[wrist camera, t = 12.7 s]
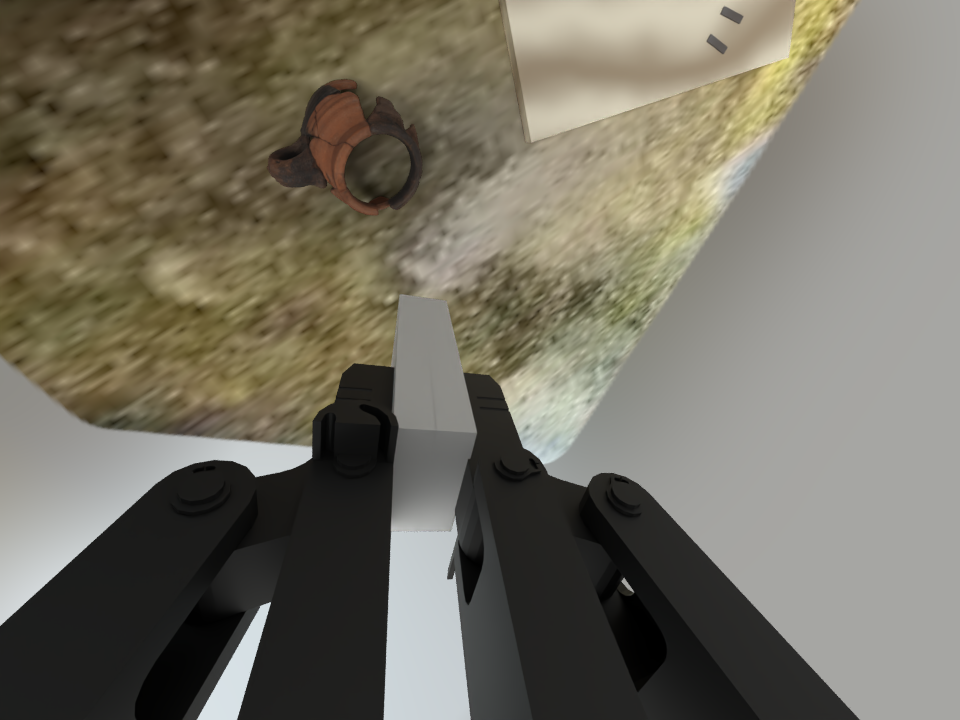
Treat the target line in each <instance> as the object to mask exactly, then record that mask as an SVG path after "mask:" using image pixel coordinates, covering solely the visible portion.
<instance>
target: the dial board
mask: <svg viewBox="0 0 960 720" xmlns="http://www.w3.org/2000/svg"><path fill="white" fill-rule="evenodd" d="M795 2H796V0H499V4H500V9H501V14H502V20H503V25H504V30H505V36H506V41H507V46H508V52H509V57H510V62H511V68H512V73H513V78H514V84H515V89H516V94H517V99H518V105H519V110H520V115H521V121H522V126H523V131H524V137H525V142H528V143H532V142H535V141H538V140H541V139H544V138H547V137H550V136H553V135H556V134H559V133H562V132H565V131H568V130H571V129H574V128H577V127H580V126H583V125H586V124H589V123H592V122H595V121H598V120H601V119H604V118H607V117H610V116H614V115H617V114H620V113H623V112H626V111H629V110H632V109H635V108H638V107H641V106H644V105H647V104H650V103H653V102H656V101H659V100H662V99H665V98H668V97H671V96H674V95H677V94H680V93H683V92H686V91H689V90H692V89H695V88H698V87H701V86H704V85H707V84H710V83H713V82H716V81H719V80H722V79H725V78H728V77H731V76H734V75H737V74H740V73H743V72H746V71H749V70H752V69H755V68H758V67H761V66H764V65H767V64H770V63H773V62H776V61H779V60H782V59H785V58H788V57H789V52H790V44H791V35H792V27H793V19H794V11H795Z"/></svg>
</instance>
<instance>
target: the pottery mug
mask: <svg viewBox="0 0 960 720" xmlns="http://www.w3.org/2000/svg"><path fill="white" fill-rule="evenodd" d="M356 88H357V84H356V82H355V81H353V80H347V79H341V80H335V81H331V82H329V83H327V84H325V85H323V86H321V87H320V88H319V89H318V90H317V91H316V92H315V93H314V94H313V95H312V97H311V99H310V100H309V102H308V105H307V108H306V111H305V117H304V120H303V124H302V128H301V137H300V138H299V139H298V140H297V141H296V142H295V143H294V144H292V145H291V146H288V147H285V148H282V149H279V150H277V151H275V152H273V153H272V154H271V155H270V156H269V158H268V166H267V168H268V171H269V173H270V174H271V176H272V177H274V178H275V179H276V181H278V182H279V183H280V184H282V185H283V186H286V187H304V186H307V185H315V186H318V187H320V188H325V187H326V186H327V181H328V183H329V184H331V185H332V186H333V188H332V189H331V192H332V193H333V194H334V195H335V196H336V197H337V198H339V199H340V200H342V201H343V202H344V203H346V204H348V205H349V206H350V207H351V208H353V209H354V210H356V211H358V212H360V213H363V214H366V215H378V210H382V209H385V208H387V207H389V206H390V207H391V208H392V209H395V210H398V209H400V208H401V207H402V206H404V205H405V204H406V203H407V202H408V201H409V200H410V199H411V198H412V196H413V195H414V193H415V192H416V190H417V187H418V185H419V180H420V178H421V174H422V156H421V153H420V149H419V143H418V138H417V133H416V129H415V127H414V124H411V125H410V128H408V129H406V130H405V129H404V124H403V120H402V119H401V116H400V114H399V113H398V112H397V111H396V110H395V109H394V107H393V104H392V103H391V102H390V101H389V100H387V99H385V98H383V97H380V96H378V97H377V98H376V103H377V106H376V107H375V108H374V110H373V112H372V113H371V115H370V116H369V117H368V118H367V119H365V117H364V113H363V111H362V108H361V105H360V102H359V97H358V96H357V95H355V94H354V93H351V92H344V93H340V90H347V89H356ZM374 134H387V135H391V136H393V137H396V138H397V139H399V140H400V141H402V142H403V143H404V144H405V145H406V147H407V149H408V151H409V154H410V158H411V169H410V173H409V176H408V179H407V181H406V183H405V185H404V186H403V188H402V189H401V190H400V191H399V192H398V193H397V194H396V195H395V196H394V197H392V198H390V199H388V198H385V197H382V196H380V197H377V198H375V199H373V200H372V201H370V202H369V203H366V202H363V201H360V200H358V199H357V198H356V197H354V196H353V195H352V194H351V192H350V191H349V189H348V187H347V186H346V182H345V165H346V162H347V159H348V157H349V155H350V153H351V151H352V150H353V148H354V147H355V146H356V145H357V144H358V143H360V142H361V141H362V140H364V139H366V138H368V137H370V136H372V135H374ZM310 136H312V137H313V139H312V140H310Z"/></svg>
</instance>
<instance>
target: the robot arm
mask: <svg viewBox="0 0 960 720" xmlns="http://www.w3.org/2000/svg"><path fill="white" fill-rule="evenodd" d="M508 410H509V409H508V406H507V403H506V401H505V398H504V395H503V392H502V390H501V387H500V386H499V385H498V384H497V383H496V382H495V381H494V380H493V379H492V378H491V377H490V376H489V375H481V374H471V373H463V370H462V366H461V361H460V357H459V353H458V348H457V344H456V340H455V336H454V331H453V327H452V323H451V318H450V314H449V310H448V305H447V301H445V300H438V299H431V298H424V297H417V296H410V295H403V294H400V297H399V306H398V314H397V322H396V331H395V339H394V347H393V356H392V364H391V367H386V366H375V365H365V364H355V363H354V364H353V365H352V366H351V367H349V368H348V369H347V370H346V371H345V372H344V373H343V374H342V377H341V381H340V384H339V389H338V392H337V395H336V400H335V403H333V404H330V405H328V406H327V407H325V408H324V409H322V410H320V411H319V412H318V414H317V415H316V417H315V418H314V420H313V440H312V458H311V459H310V460H309V461H307V462H306V463H304V464H302V465H300V466H298V467H296V468H293V469H291V470H287V471H283V472H280V473H275V474H270V475H265V476H260V477H255V476H254V475H253V474H252V473H251V471H250V470H249V469H248V468H247V467H246V466H243V465H241V464H238V463H236V462H233V461H218V460H213V461H207V462H201V463H195V464H192V465H189V466H187V467H184V468H182V469H179V470H177V471H174V472H173V473H171V474H170V475H168V476H167V477H165V478H164V479H162V480H161V481H160V482H158V483H157V484H155V485H154V486H153V487H152V488H151V489H150V490H149V491H148V492H147V493H146V494H144V495H143V496H142V497H141V498H140V499H139V500H138V501H137V502H136V503H135V504H134V505H132V507H130V508H129V509H128V510H127V511H126V512H125V513H124V514H123V515H121V516H120V517H119V518H118V519H117V520H116V521H115V522H114V523H113V524H112V525H110V526H109V527H108V528H107V529H106V530H105V531H104V532H103V533H102V534H101V535H100V536H98V537H97V538H96V539H95V540H94V541H93V542H92V543H91V544H90V545H89V546H87V548H85V549H84V550H83V551H82V552H81V553H80V554H79V555H78V556H77V557H75V558H74V559H73V560H72V561H71V562H70V563H69V564H68V565H67V566H66V567H64V568H63V569H62V570H61V571H60V572H59V573H58V574H57V575H56V576H55V577H54V578H52V579H51V580H50V581H49V582H48V583H47V584H46V585H45V586H44V587H43V588H42V589H40V590H39V591H38V592H37V593H36V594H35V595H34V596H33V597H32V598H30V599H29V600H28V601H27V602H26V603H25V604H24V605H23V606H22V607H21V608H20V609H19V610H17V611H16V612H15V613H14V614H13V615H12V616H11V617H10V618H9V619H7V620H6V621H5V622H4V623H3V624H2V625H1V626H0V720H197V718H198V716H199V715H200V713H201V711H202V709H203V707H204V706H205V704H206V702H207V700H208V699H209V697H210V695H211V693H212V692H213V690H214V688H215V686H216V684H217V683H218V681H219V679H220V677H221V676H222V674H223V672H224V670H225V668H226V667H227V665H228V663H229V661H230V660H231V658H232V656H233V654H234V652H235V650H236V649H237V647H238V645H239V644H240V642H241V640H242V638H243V636H244V635H245V633H246V631H247V629H248V628H249V626H250V624H251V622H252V620H253V619H254V617H255V615H256V613H257V611H258V610H259V608H260V606H261V605H263V604H266V603H269V602H271V605H270V608H269V612H268V615H267V619H266V622H265V625H264V629H263V632H262V636H261V639H260V643H259V646H258V650H257V653H256V657H255V660H254V663H253V667H252V670H251V674H250V678H249V681H248V684H247V688H246V691H245V695H244V698H243V702H242V705H241V709H240V712H239V715H238V719H237V720H383V718H384V694H385V669H386V643H387V617H388V616H387V615H388V591H389V566H390V565H389V564H390V540H391V532H402V531H403V532H405V531H406V532H409V531H410V532H412V531H451V530H452V526H453V522H454V518H455V516H456V524H457V531H458V536H457V539H456V543H455V547H454V550H453V554H452V557H451V561H450V565H449V568H448V576H447V579H453V575H454V572H455V574H456V584H457V592H458V602H459V612H460V621H461V631H462V640H463V650H464V659H465V669H466V678H467V687H468V697H469V706H470V716H471V720H859V719H858V717H857V716H856V715H855V714H854V713H853V712H852V711H851V710H850V709H849V708H848V707H847V706H846V705H845V703H843V701H842V700H841V699H840V698H839V697H838V696H837V695H836V694H835V693H834V692H833V691H832V689H830V687H829V686H828V685H827V684H826V683H825V682H824V681H823V680H822V679H821V678H820V677H819V675H818V674H817V673H816V672H815V671H814V670H813V669H812V668H811V667H810V666H809V665H808V664H807V663H806V662H805V661H804V659H803V658H802V657H801V656H800V655H799V654H798V653H797V652H796V651H795V650H794V649H793V648H792V646H791V645H790V644H789V643H788V642H787V641H786V640H785V639H784V638H783V637H782V636H781V635H780V634H779V633H778V631H777V630H776V629H775V628H774V627H773V626H772V625H771V624H770V623H769V622H768V621H767V620H766V619H765V617H763V615H762V614H761V613H760V612H759V611H758V610H757V609H756V608H755V607H754V606H753V605H752V604H751V602H750V601H749V600H748V599H747V598H746V597H745V596H744V595H743V594H742V593H741V592H740V591H739V590H738V589H737V588H736V586H735V585H734V584H733V583H732V582H731V581H730V580H729V579H728V578H727V577H726V576H725V574H724V573H722V571H721V570H720V569H719V568H718V567H717V566H716V565H715V564H714V563H713V562H712V560H711V559H710V558H709V557H708V556H707V555H706V554H705V553H704V552H703V551H702V550H701V549H700V548H699V546H698V545H697V544H696V543H695V542H694V541H693V540H692V539H691V538H690V537H689V536H688V535H687V534H686V532H685V531H684V530H683V529H682V528H681V527H680V526H679V525H678V524H677V523H676V522H675V521H674V520H673V518H671V516H670V515H669V514H668V513H667V512H666V511H665V510H664V509H663V508H662V507H661V506H660V505H659V503H658V502H657V501H656V500H655V499H654V498H653V497H652V496H651V495H650V494H649V493H648V492H647V491H646V490H645V489H643V488H642V487H641V486H640V485H639V484H637V483H636V482H634V481H632V480H630V479H628V478H627V477H624V476H621V475H617V474H614V473H601V474H598V475H596V476H594V477H593V478H592V479H591V481H590V483H589V485H588V487H583V486H580V485H577V484H573V483H570V482H567V481H563V480H560V479H557V478H555V477H552V476H550V475H548V473H547V471H546V469H545V467H544V465H543V464H542V462H541V461H540V459H539V458H537V457H536V456H535V455H534V454H532V453H531V452H530V451H528V450H526V449H524V448H523V447H522V444H521V441H520V438H519V436H518V433H517V430H516V428H515V425H514V422H513V419H512V417H511V414H510V412H509V411H508ZM623 578H625V579H626V581H627V582H628V584H629V585H630V586H631V588H632V589H633V591H634V593H633V592H632V591H630V590H628V589H627V588H626V587H625V585H624V584H623V583H622V582H621V581H622V580H623Z"/></svg>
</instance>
